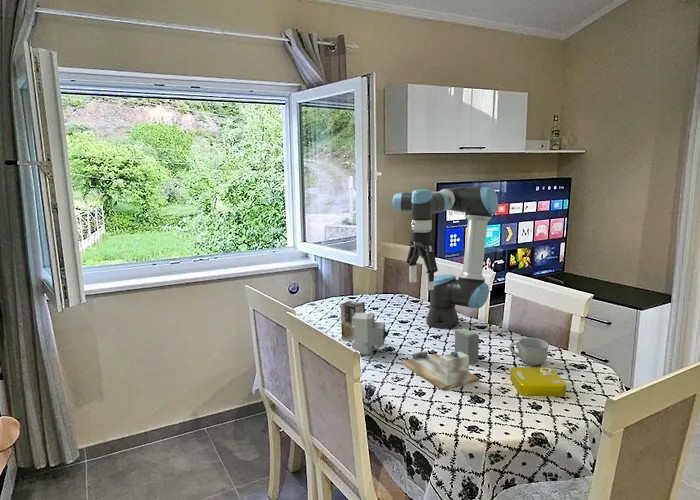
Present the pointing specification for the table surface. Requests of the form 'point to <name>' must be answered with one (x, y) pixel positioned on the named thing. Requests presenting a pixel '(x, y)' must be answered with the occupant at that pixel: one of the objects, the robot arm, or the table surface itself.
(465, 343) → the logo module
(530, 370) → the element tile
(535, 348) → the teacup
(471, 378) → the rail plate
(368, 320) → the circuit breaker
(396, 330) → the table surface
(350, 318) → the coffee box
